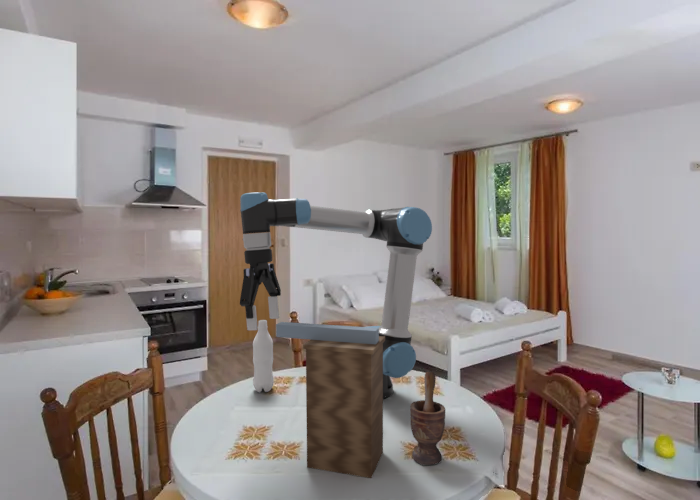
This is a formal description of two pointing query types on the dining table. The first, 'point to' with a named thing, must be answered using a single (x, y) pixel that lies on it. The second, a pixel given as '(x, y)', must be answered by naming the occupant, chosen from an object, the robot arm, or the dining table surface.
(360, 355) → the stand
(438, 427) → the mortar and pestle
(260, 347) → the water bottle
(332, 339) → the bar
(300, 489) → the dining table surface
